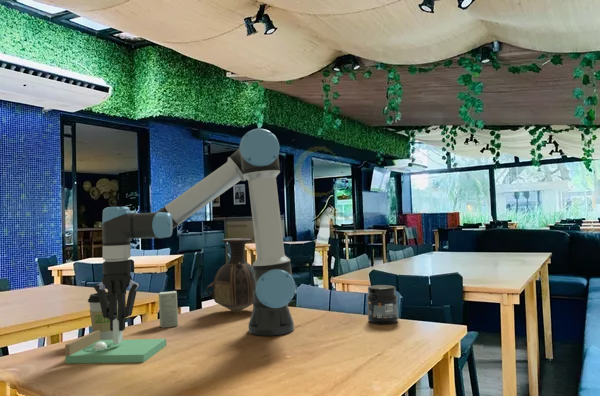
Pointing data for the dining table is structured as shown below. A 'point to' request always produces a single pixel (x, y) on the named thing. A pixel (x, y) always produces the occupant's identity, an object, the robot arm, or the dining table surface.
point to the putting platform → (111, 350)
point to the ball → (100, 346)
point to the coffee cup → (100, 317)
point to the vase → (234, 279)
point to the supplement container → (382, 304)
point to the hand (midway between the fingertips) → (117, 342)
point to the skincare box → (168, 309)
